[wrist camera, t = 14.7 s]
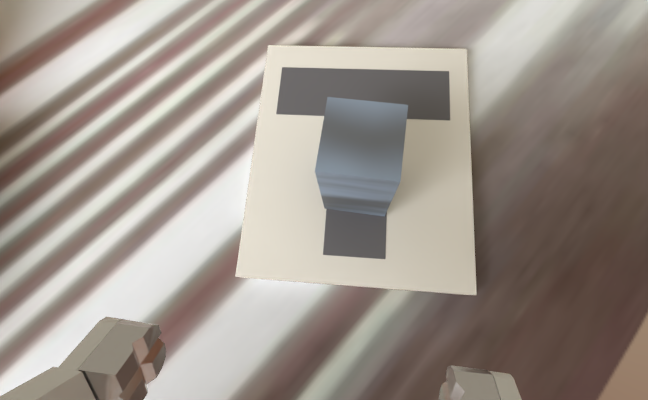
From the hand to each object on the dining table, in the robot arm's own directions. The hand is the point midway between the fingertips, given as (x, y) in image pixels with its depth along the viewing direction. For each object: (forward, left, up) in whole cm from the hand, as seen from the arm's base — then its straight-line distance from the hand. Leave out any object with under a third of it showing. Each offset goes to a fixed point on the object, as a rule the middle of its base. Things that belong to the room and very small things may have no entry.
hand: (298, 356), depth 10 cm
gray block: (+10, -2, -15) cm, 18 cm away
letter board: (+13, -2, -16) cm, 20 cm away
